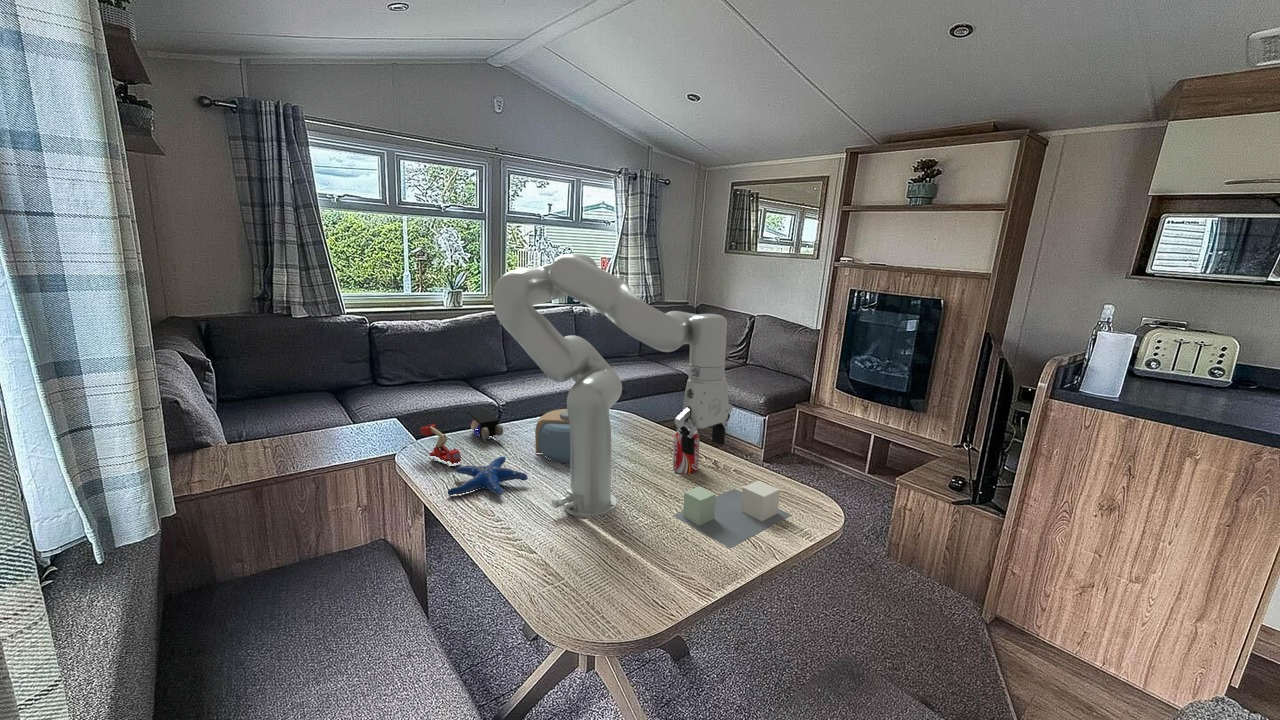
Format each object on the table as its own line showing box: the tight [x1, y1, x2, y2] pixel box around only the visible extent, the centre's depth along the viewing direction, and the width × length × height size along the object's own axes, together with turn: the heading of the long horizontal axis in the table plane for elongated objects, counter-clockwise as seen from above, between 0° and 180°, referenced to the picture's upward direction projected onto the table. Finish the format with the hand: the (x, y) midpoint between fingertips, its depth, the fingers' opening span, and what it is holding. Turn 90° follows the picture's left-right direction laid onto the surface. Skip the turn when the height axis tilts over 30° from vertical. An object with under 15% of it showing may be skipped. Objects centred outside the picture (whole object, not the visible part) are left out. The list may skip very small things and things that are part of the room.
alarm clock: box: [534, 408, 570, 463], centre depth 157 cm, size 19×20×12 cm
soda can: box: [672, 427, 700, 475], centre depth 144 cm, size 7×7×12 cm
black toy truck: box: [467, 408, 504, 440], centre depth 167 cm, size 7×8×15 cm
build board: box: [672, 480, 792, 549], centre depth 119 cm, size 22×17×7 cm
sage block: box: [682, 485, 717, 526], centre depth 118 cm, size 5×5×6 cm
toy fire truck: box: [419, 424, 462, 464], centre depth 147 cm, size 3×14×10 cm, turn 58°
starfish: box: [447, 456, 528, 497], centre depth 133 cm, size 19×19×5 cm
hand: (703, 448), depth 115 cm, fingers open, 9 cm apart
